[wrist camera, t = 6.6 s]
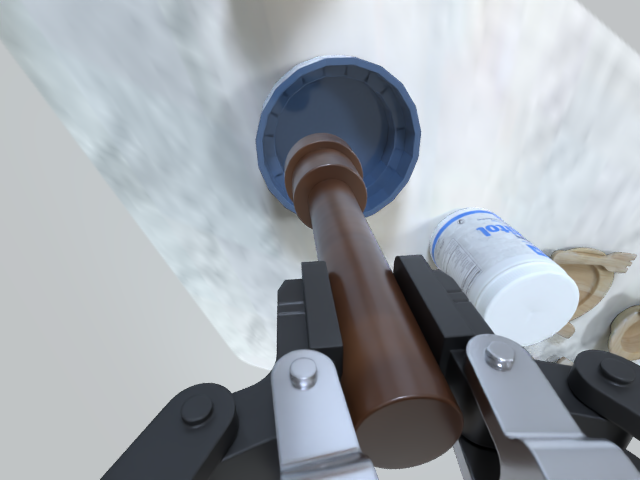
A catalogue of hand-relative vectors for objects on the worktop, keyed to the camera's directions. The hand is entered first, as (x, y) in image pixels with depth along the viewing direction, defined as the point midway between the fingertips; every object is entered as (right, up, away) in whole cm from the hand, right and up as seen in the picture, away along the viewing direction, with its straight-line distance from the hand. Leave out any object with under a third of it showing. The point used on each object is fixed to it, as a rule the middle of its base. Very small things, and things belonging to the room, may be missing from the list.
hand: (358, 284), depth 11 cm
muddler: (-1, +6, +11) cm, 12 cm away
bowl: (0, +13, +27) cm, 30 cm away
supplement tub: (+17, +2, +36) cm, 40 cm away
